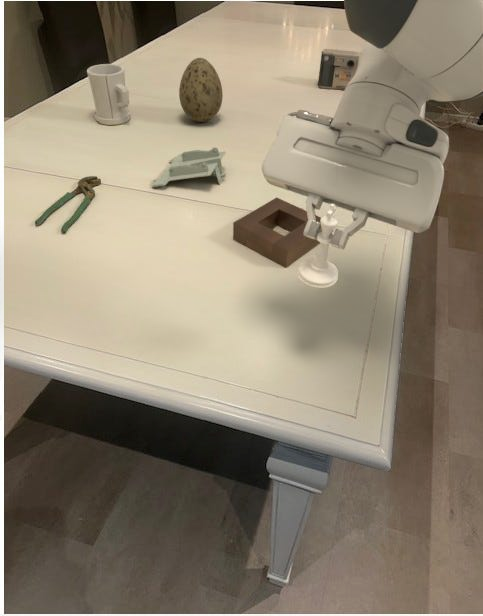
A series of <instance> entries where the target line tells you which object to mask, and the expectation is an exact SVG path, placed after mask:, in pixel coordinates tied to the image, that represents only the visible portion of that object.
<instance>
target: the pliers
mask: <svg viewBox="0 0 483 616" xmlns="http://www.w3.org/2000/svg"><path fill="white" fill-rule="evenodd" d="M101 183H102V180H101V178H98V176H97V175H90V176H85V177H82V178H80V179H79V180H78V182H77V187H76V188H74V190H73V191H71V192H69V191H67V192H66V193H65V194H63V196H61V197H60V198H59V199H57V201H55V202H54V203H53V204H51V205H50V206H49V207H48V208H47V209H46V210H45V211H44V212H42V214H41V216H39V217H38V218H37V219H36V220H35V221H34V224H35V226H40V225H41V224H43V223H44V222H45V221H46V220H47V218H48V217H49V216H50V215H51V214H52V213H53V212H55V211H57V210H58V209H59V208H60V207H62V206H63V205H64V204H65V203H66V202H68V201H69V200H70V199H72V198H73V197H75V196H76V195H78V194H81V193H83V194H84V195H85V196H84V198H83V199H82V201H81V203H80V204H79V206H78V207H77V209H75V211H74V213H73V214H72V215H71V217H70V218H68V220H66V221H65V222H64V223H63V224H62V226H61V228H60V232H61V233H64V234H65V233H66V232H67V230H68V229H69V228H70V227H71V226H72V225H73V224H74V223H75V222H76V221H77V220H78V218H79V217H80V216H81V215H82V213H83V212H84V211H85V209H87V207H88V206H89V204H90V203H91V200H92V199H93V198H94V197H95V195H96V191H95V190H94V188H93V187H95V186H98V185H100V184H101ZM88 191H89V192H88Z"/></svg>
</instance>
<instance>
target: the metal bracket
mask: <svg viewBox="0 0 483 616" xmlns="http://www.w3.org/2000/svg"><path fill="white" fill-rule="evenodd" d="M226 154H227V152H226V151H219V149H218V148H217V147H216V146H214V147H212V148H211V149H210V150H202V149H195V150H188V151H183V152H182V153H179V154H178V155H176V156H175V157H173V158H171V159H170V160H169V161H168V163H169V165H168V166H167V167H166V168H165V170H164V171H163V172H162V174H161V175H160V176H159V177H158V178H155V179H152V181H151V187H152V188H156V187H157V188H158V187H164V186H166V185H167V184H168V183H169V182H171V181H172V182H173V181H180V180H187V179H188V180H189V179H194V178H195V179H196V178H203V177H209V176H211V175H212V174H213V172H215V176H216V179H217V183H218V185H221V184H222V182H223V181H224V179H225V178H227V173H225V172H224V169H223V165H222V159H223V158H224V156H225V155H226Z"/></svg>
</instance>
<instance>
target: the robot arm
mask: <svg viewBox="0 0 483 616" xmlns="http://www.w3.org/2000/svg"><path fill="white" fill-rule="evenodd" d="M343 6H344V13H345V18H346V22H347V26H348V28H349V31H350V32H352V33H353V34H355V35H356V36H358V37H359V38H361V39H362V40H364V43H363V45H362V48H361V50H360V51H359V53H360V55H359V62H358V68H357V71H356V73H355V75H354V77H353V78H352V79H351V80H350V82H349V83H348V85H347V86H346V88H345V90H343V93H342V96H341V98H340V101H339V103H338V105H337V108H336V110H335V113H334V115H333V117H331V116H328V115H323V114H318V113H312V112H310V111H308V110H304V109H298V110H297V111H293V112H290V113H288V114H286V115H284V116H283V118H282V119H281V122H280V124H279V126H278V129H277V132H276V137H275V139H274V141H273V142H272V144H271V146H270V147H269V149H268V151H267V153H266V156H265V158H264V160H263V162H262V164H261V172H262V176H263V177H264V179H265V180H266V181H267V183H268V184H269V185H271V186H274V187H277V188H280V189H283V190H286V191H288V192H292V193H295V194H298V195H301V196H303V197H306V200H305V207H306V209H305V210H306V211H307V217H308V222H307V224H306V227H305V229H304V232H303V234H304V236H306V237H309V238H311V239H314V240H317V238H316V236H317V234H318V233H319V232H321V229H322V228H321V224H320V223H318V222H316V216H317V215H316V210H317V211H319V210H321V207H322V205H323V203H325V204H328V205H331V204H335V207H336V208H340V209H344V210H346V211H349V212H353V213H352V215H351V217H352V220H353V221H352V222H350V224H348V225H347V226H346V227H345V228H344V229H343V230H342V229H339V228H335V229H334V231H333V235H334V237H333V238H332V239H331V242H330V244H329V245H331V247H334V248H337V249H340V250H342V251H344V250H345V248H346V246H347V243H348V241H349V239H350V237H353V235H355V234H356V233H357V232H359V231H360V230H361V229H362V228H364V227H365V226H366V224H367V221H368V219H369V218H371V219H374V220H377V221H380V222H382V223H386V224H389V225H392V226H394V227H397V228H401V229H404V230H407V231H410V232H412V233H415V234H421V233H423V232H425V231H427V230H429V229H430V227H431V224H432V222H433V219H434V217H435V213H436V211H437V206H438V205H439V201H440V197H441V192H442V189H443V183H444V178H445V167H444V163H445V161H446V159H447V157H448V154H449V149H450V138H449V136H448V134H447V133H446V132H445V131H443V130H442V129H440V128H439V127H437V126H436V125H434V124H433V123H431V122H429V121H427V120H426V119H425V118H423V117H422V116H420V115H421V111H422V107H423V106H424V104H425V103H427V102H429V101H434V102H437V103H457V102H464V101H465V102H466V101H470V100H474V99H477V98H480V97H483V0H343ZM315 215H316V216H315Z"/></svg>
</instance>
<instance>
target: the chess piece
mask: <svg viewBox="0 0 483 616" xmlns="http://www.w3.org/2000/svg"><path fill="white" fill-rule="evenodd" d="M336 211H337V206H335V204H329V208H328V211H327V212H326V215H323V216H320V217H321V219H320V223H321V228H322V232H319V233H318V234H317V236H316V238H317V240H318V241H319V242H320V243H319V244H318V248H317V251H316V253H315V256H314V257H311V258H307V259H305V260H303V261H302V262H301V263H300V264H299V266H298V269H297V276H298V278H299V279H300V281H301V282H302V283H304V284H305V285H307V286H309V287H312V288H316V289H325V288H330V287H332V286H333V285H335V284H336V283H337V281H338V279H339V271H338V268H337V266H336V265H334V264H333V263H332V262H331V261H329V260H328V258H329V257H328V256H329V245H331V244H330V242H331V239H332V238H333V237H334V232H335V230H336V229H337V226H338V225H339V220H338V218H337V217H336V216H334V213H335V212H336Z"/></svg>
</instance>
